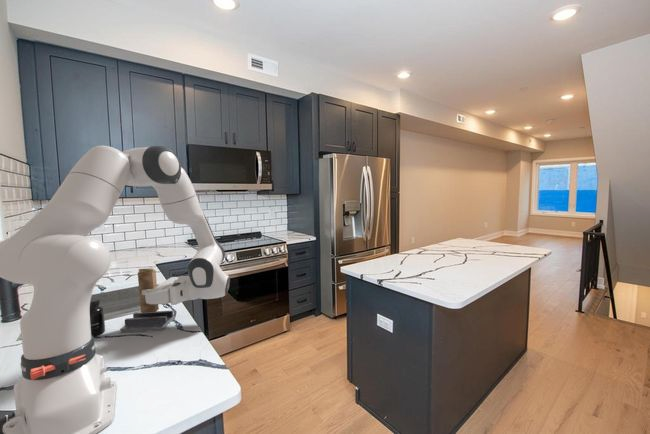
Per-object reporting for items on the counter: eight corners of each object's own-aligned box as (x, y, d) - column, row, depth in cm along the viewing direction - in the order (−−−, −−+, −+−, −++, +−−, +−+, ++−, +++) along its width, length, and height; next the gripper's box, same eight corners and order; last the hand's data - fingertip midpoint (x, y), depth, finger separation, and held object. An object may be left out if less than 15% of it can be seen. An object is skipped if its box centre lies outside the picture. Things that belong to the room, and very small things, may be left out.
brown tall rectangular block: (158, 309, 107) (155, 267, 106) (155, 312, 105) (151, 269, 104) (144, 310, 107) (141, 268, 106) (141, 313, 104) (137, 269, 103)
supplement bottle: (91, 340, 95) (88, 305, 94) (74, 338, 96) (71, 303, 96) (110, 330, 102) (107, 297, 101) (94, 329, 103) (92, 296, 102)
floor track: (174, 318, 111) (174, 309, 110) (162, 330, 101) (161, 320, 100) (136, 320, 110) (136, 311, 109) (120, 333, 100) (119, 323, 99)
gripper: (194, 272, 116) (158, 273, 115) (172, 288, 96) (128, 290, 95) (195, 287, 117) (160, 289, 116) (173, 306, 97) (130, 309, 95)
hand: (145, 290), depth 105 cm, fingers closed on brown tall rectangular block, 2 cm apart
